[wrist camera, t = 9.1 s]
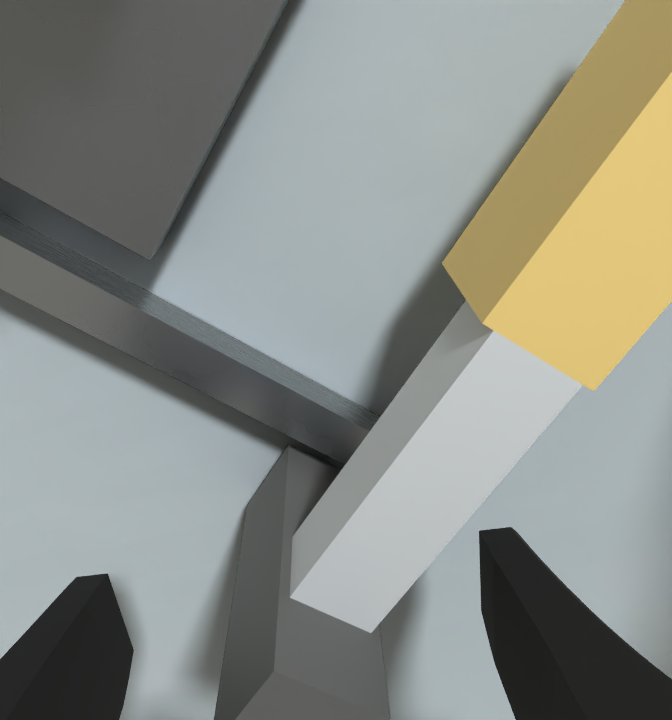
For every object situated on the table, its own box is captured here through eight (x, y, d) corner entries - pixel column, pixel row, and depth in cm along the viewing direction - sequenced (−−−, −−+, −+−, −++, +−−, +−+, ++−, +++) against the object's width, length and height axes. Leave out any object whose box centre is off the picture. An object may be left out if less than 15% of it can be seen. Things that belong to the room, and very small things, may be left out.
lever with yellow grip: (714, 14, 11) (1103, -45, 6) (318, 538, 16) (320, 792, 10) (630, -57, 11) (966, -196, 5) (247, 505, 15) (208, 752, 10)
